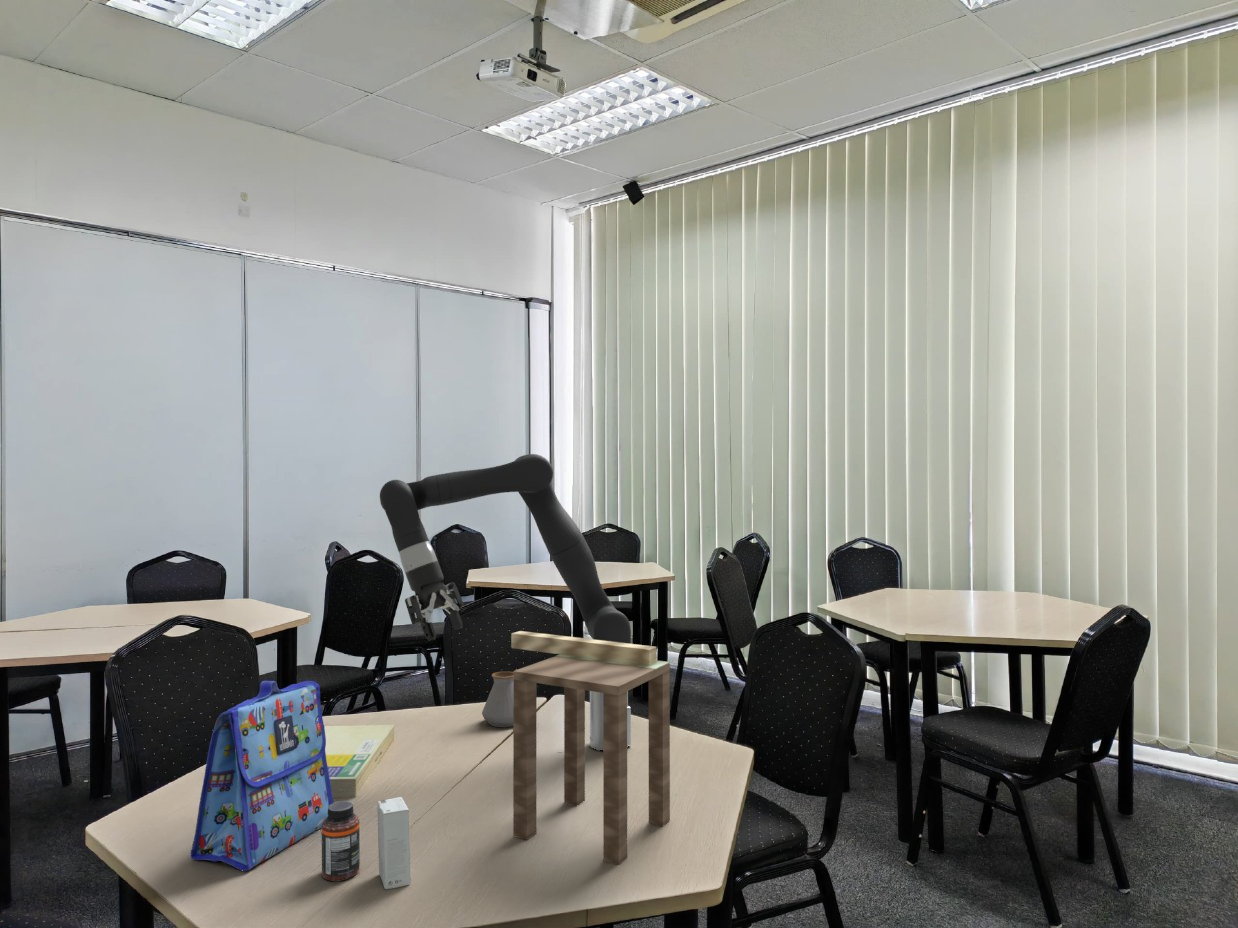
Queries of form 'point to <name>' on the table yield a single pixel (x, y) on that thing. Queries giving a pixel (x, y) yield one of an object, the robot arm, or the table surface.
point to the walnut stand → (575, 680)
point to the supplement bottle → (340, 842)
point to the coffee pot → (500, 700)
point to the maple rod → (584, 647)
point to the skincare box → (393, 842)
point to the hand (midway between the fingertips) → (446, 634)
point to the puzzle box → (354, 755)
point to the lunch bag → (264, 777)
